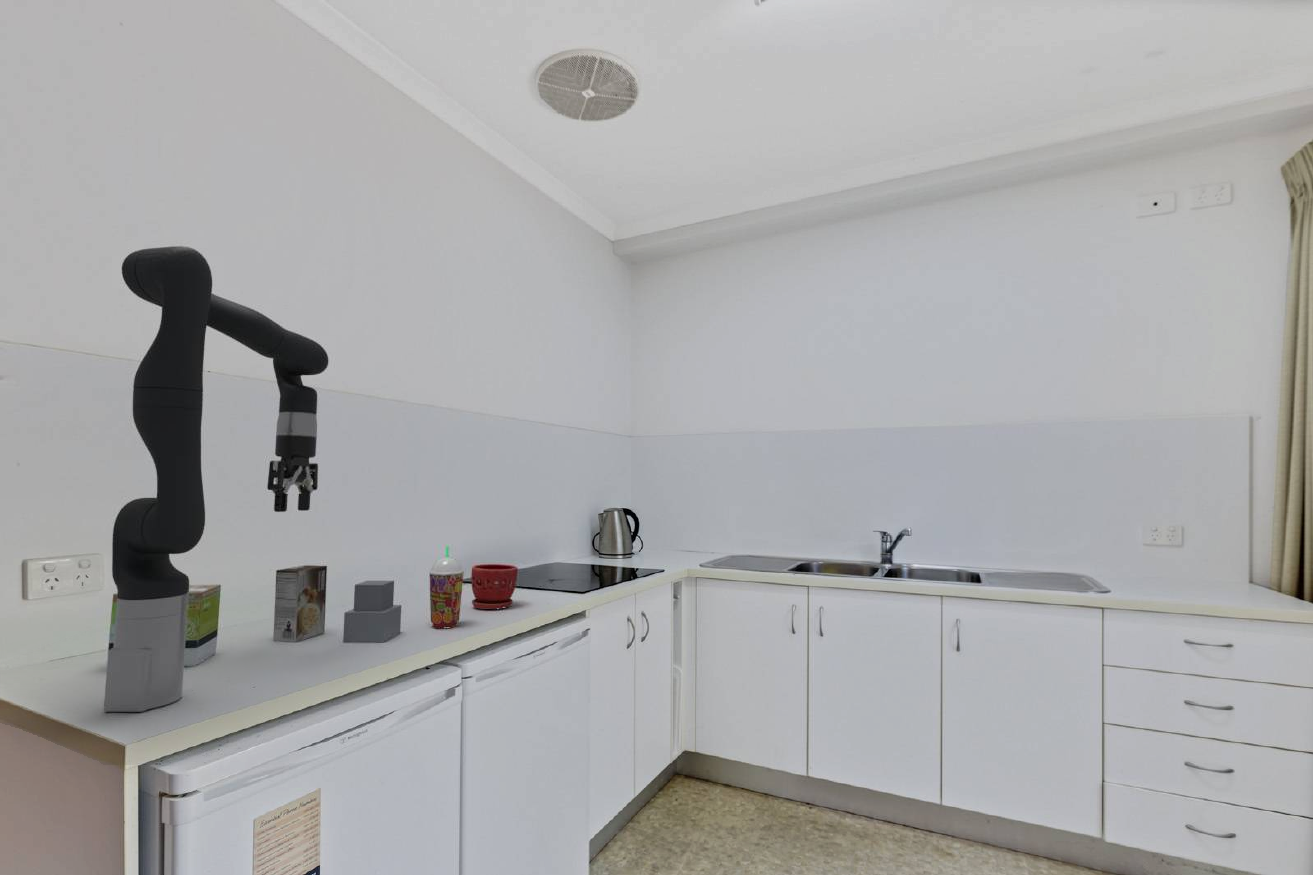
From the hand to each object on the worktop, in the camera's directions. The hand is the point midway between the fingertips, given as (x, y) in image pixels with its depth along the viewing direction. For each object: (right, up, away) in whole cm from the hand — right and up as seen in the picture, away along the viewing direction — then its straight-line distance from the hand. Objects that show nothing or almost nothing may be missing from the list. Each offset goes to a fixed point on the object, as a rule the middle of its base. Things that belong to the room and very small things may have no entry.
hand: (292, 511), depth 132 cm
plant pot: (+29, -34, +51) cm, 68 cm away
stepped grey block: (+11, -31, +14) cm, 36 cm away
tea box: (-21, -30, -7) cm, 37 cm away
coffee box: (-6, -31, +14) cm, 35 cm away
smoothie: (+24, -32, +26) cm, 48 cm away
